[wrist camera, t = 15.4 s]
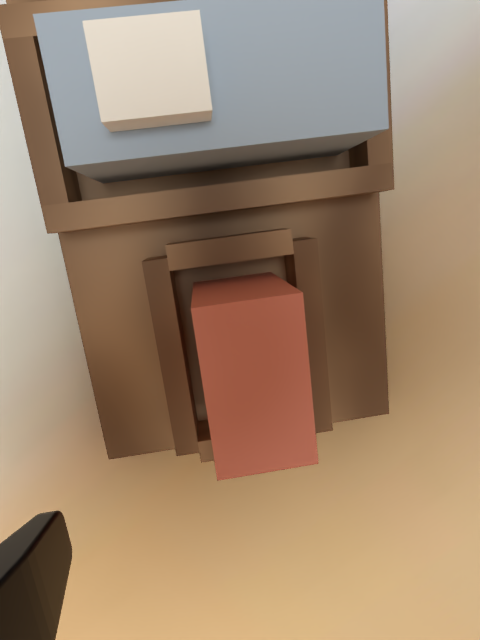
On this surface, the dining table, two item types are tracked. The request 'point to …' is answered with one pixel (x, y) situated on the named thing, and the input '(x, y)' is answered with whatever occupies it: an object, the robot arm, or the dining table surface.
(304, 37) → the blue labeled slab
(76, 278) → the jig
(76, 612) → the dining table surface
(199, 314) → the terracotta rectangular block
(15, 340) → the dining table surface
